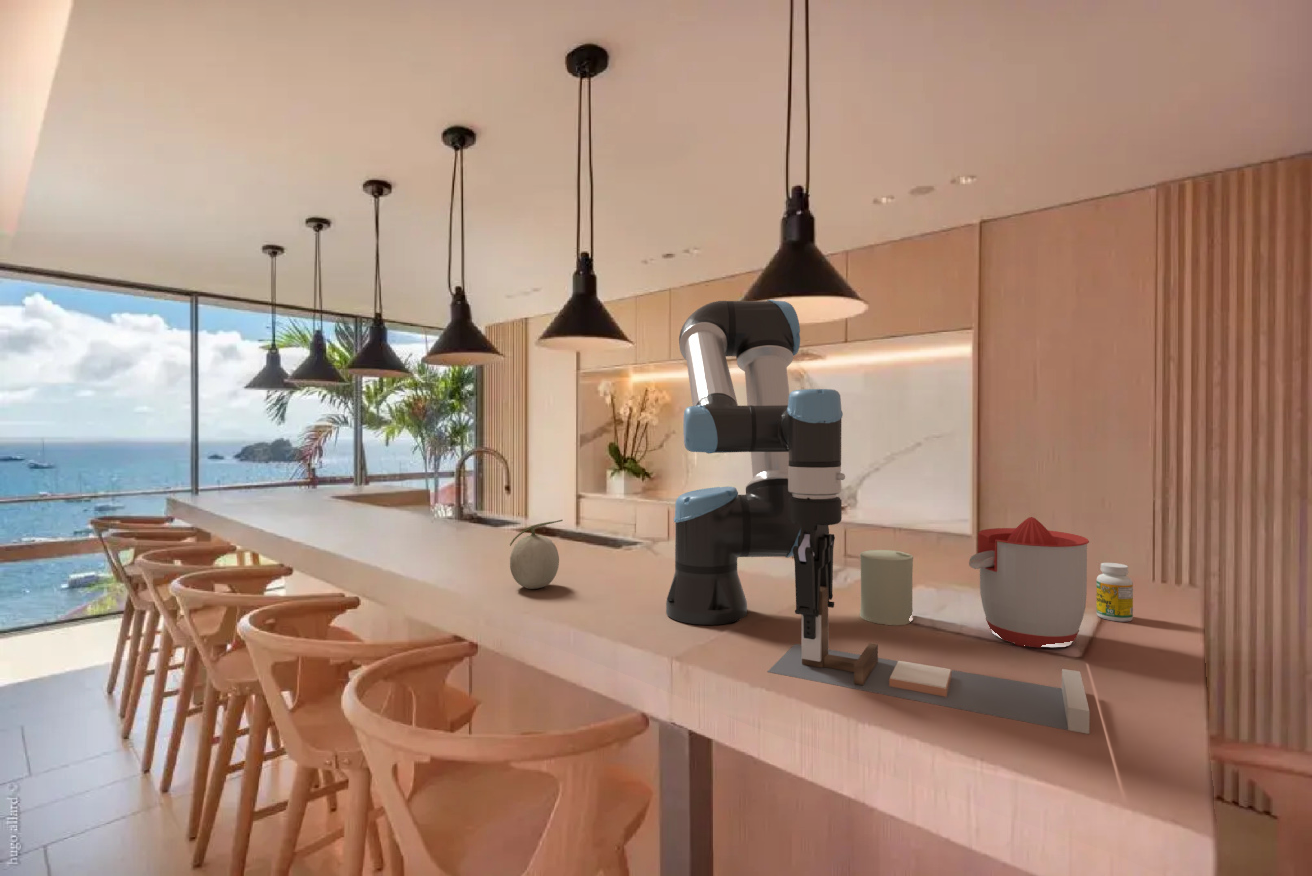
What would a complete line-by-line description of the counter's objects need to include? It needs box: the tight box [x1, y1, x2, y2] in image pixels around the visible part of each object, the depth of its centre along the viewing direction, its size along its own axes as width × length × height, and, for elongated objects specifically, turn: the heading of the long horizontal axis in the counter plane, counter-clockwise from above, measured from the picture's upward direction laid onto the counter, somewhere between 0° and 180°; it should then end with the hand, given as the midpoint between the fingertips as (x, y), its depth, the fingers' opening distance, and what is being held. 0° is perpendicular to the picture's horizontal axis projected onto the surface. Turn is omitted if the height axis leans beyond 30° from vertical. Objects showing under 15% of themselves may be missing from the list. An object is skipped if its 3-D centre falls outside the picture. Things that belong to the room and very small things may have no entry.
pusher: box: [802, 586, 879, 685], centre depth 92 cm, size 9×10×11 cm
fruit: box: [509, 519, 563, 590], centre depth 140 cm, size 10×12×15 cm
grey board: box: [767, 643, 1090, 735], centre depth 87 cm, size 38×13×3 cm, turn 60°
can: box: [859, 549, 914, 626], centre depth 117 cm, size 9×9×12 cm
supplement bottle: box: [1095, 562, 1134, 623], centre depth 116 cm, size 5×5×10 cm
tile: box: [889, 660, 953, 697], centre depth 87 cm, size 7×7×1 cm
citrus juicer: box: [968, 516, 1090, 649], centre depth 105 cm, size 16×17×20 cm
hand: (815, 654), depth 94 cm, fingers closed on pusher, 3 cm apart
